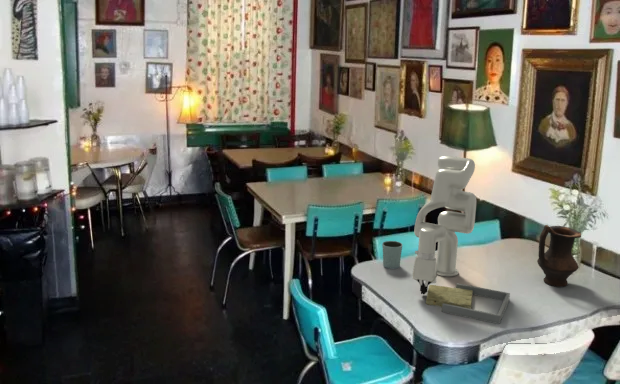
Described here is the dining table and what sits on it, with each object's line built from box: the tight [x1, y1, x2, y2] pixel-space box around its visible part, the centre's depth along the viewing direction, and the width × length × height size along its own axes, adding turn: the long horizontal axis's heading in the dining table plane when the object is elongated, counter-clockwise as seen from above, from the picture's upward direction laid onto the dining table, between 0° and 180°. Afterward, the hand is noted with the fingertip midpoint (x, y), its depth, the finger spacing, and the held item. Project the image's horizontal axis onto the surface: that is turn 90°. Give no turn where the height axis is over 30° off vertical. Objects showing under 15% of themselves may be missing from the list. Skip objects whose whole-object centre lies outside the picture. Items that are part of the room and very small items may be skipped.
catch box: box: [441, 282, 511, 325], centre depth 271 cm, size 24×27×4 cm
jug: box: [536, 224, 582, 288], centre depth 296 cm, size 21×18×30 cm
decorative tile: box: [425, 284, 474, 309], centre depth 276 cm, size 19×20×4 cm
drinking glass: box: [382, 240, 403, 270], centre depth 316 cm, size 10×10×12 cm
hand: (423, 293), depth 281 cm, fingers closed
